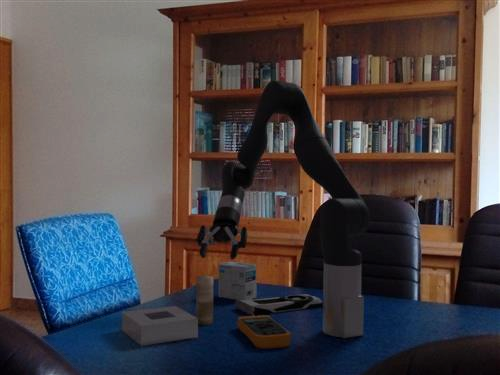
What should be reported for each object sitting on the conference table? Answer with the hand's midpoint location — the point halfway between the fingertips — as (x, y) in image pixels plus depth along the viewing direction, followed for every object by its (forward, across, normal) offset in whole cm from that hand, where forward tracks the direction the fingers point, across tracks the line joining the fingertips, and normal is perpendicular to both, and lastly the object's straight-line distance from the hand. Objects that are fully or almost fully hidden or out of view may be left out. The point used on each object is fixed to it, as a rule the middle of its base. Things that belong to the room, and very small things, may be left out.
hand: (217, 257), depth 154 cm
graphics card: (+5, +17, +18) cm, 25 cm away
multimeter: (+25, +17, -2) cm, 31 cm away
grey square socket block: (+28, -8, -6) cm, 29 cm away
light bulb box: (-3, +1, +25) cm, 25 cm away
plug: (+19, 0, +3) cm, 19 cm away
